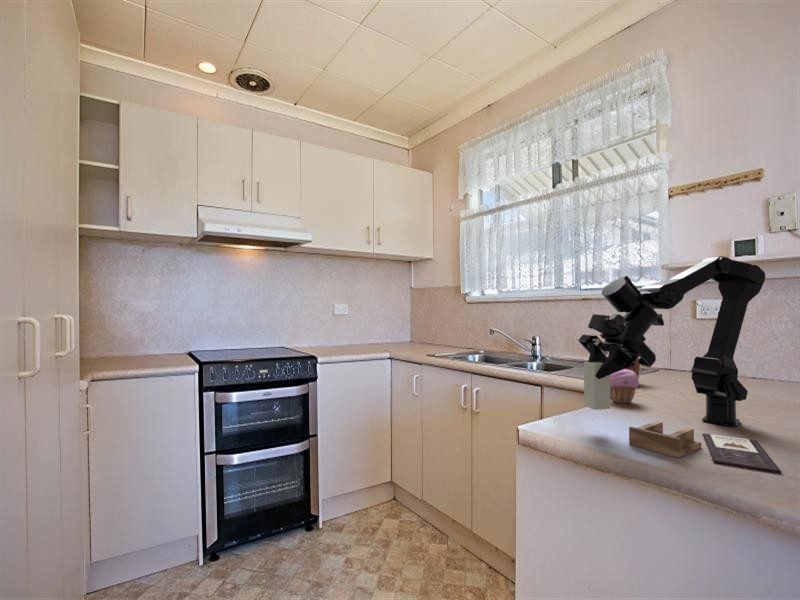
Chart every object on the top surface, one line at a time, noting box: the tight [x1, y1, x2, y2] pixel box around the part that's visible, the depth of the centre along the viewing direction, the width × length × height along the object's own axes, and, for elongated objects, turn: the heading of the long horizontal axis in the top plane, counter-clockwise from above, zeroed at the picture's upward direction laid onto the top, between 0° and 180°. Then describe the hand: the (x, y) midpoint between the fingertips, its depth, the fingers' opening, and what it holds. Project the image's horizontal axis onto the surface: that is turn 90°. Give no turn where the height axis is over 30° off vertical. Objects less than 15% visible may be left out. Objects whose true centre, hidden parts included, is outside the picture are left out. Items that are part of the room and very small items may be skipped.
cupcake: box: [610, 369, 640, 405], centre depth 118 cm, size 9×9×10 cm
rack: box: [628, 420, 702, 459], centre depth 81 cm, size 10×9×4 cm
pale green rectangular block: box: [583, 361, 611, 411], centre depth 91 cm, size 4×4×10 cm
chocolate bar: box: [702, 432, 782, 475], centre depth 77 cm, size 9×1×18 cm
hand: (591, 376), depth 90 cm, fingers closed on pale green rectangular block, 3 cm apart
